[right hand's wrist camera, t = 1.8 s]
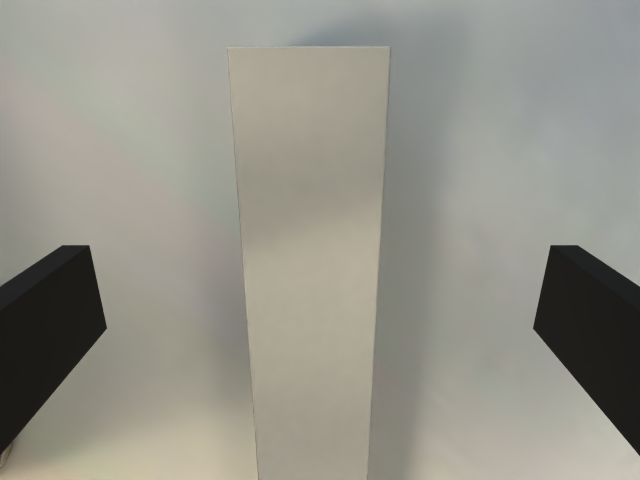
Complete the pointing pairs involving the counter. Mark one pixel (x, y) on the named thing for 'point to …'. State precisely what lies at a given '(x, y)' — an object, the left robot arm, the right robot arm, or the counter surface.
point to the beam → (310, 248)
